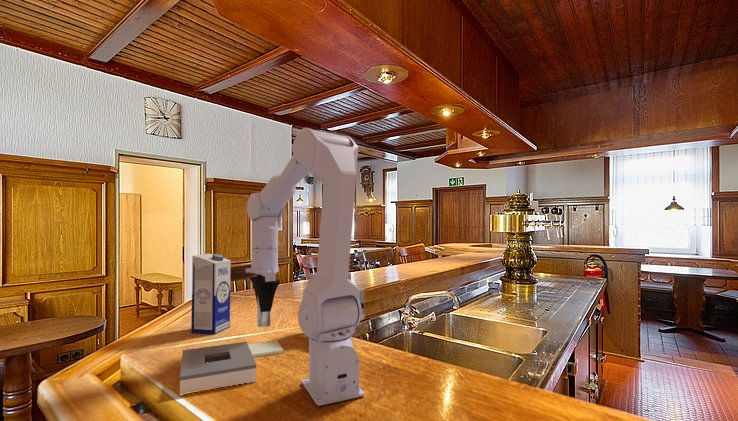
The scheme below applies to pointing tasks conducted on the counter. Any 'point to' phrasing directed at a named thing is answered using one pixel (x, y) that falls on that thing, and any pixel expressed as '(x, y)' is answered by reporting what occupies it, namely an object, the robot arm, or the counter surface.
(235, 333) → the counter surface
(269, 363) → the counter surface
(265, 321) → the shiny metal cylinder
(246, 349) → the box
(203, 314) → the milk carton
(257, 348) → the pad
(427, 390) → the counter surface
